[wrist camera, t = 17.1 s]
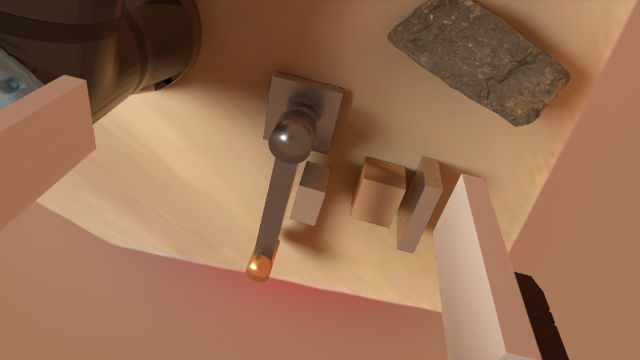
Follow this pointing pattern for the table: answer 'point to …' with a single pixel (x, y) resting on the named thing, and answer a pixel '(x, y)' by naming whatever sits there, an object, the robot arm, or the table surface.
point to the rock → (481, 58)
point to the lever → (288, 187)
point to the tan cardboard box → (378, 192)
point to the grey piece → (324, 110)
